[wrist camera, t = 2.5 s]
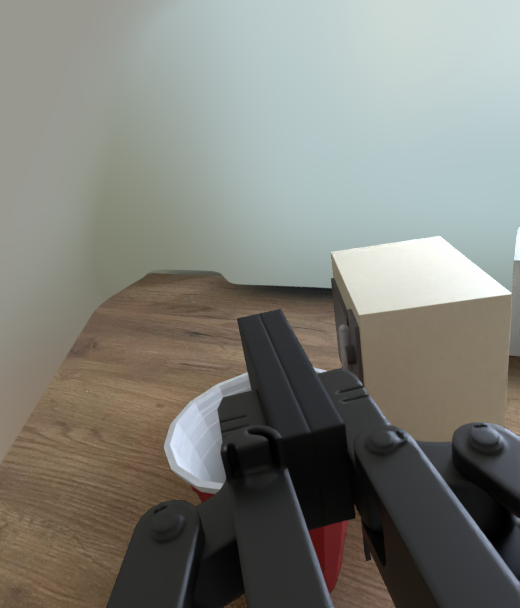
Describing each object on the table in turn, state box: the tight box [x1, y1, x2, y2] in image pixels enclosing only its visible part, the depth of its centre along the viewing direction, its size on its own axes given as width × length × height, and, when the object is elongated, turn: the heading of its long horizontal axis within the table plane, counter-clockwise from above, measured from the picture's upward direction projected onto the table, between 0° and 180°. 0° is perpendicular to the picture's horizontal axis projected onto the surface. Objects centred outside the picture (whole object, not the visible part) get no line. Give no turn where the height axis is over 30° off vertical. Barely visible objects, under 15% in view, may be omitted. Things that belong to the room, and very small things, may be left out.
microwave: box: [331, 236, 512, 442], centre depth 41 cm, size 11×14×13 cm
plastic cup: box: [164, 367, 347, 594], centre depth 28 cm, size 11×11×12 cm
